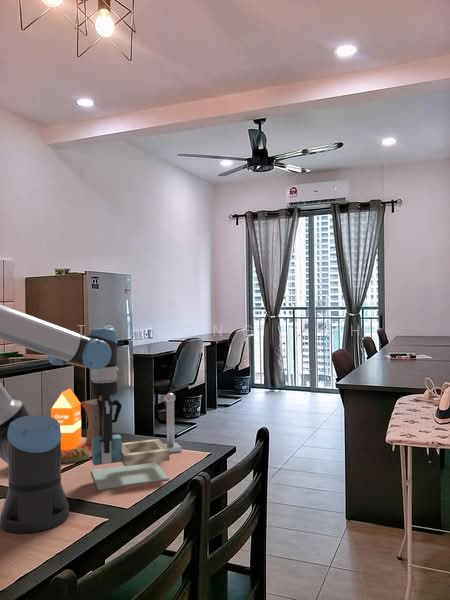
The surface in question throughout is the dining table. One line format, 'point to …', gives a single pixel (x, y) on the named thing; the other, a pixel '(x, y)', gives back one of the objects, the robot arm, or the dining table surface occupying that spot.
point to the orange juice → (68, 419)
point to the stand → (171, 424)
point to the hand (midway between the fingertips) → (105, 460)
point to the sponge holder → (131, 451)
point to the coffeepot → (96, 417)
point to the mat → (128, 475)
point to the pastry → (75, 455)
